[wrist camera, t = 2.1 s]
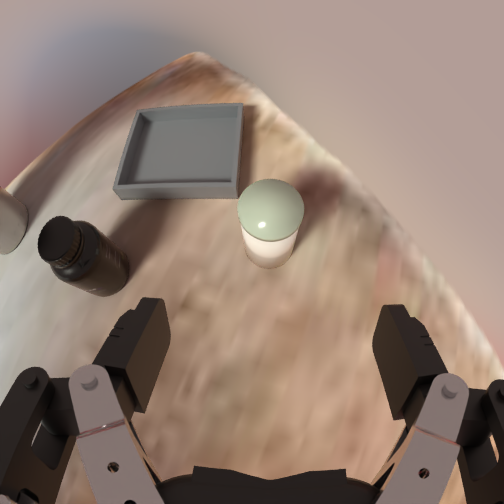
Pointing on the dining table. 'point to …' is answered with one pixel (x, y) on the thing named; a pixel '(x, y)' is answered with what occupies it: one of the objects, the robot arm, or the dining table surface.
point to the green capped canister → (270, 221)
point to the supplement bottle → (83, 256)
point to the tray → (182, 153)
